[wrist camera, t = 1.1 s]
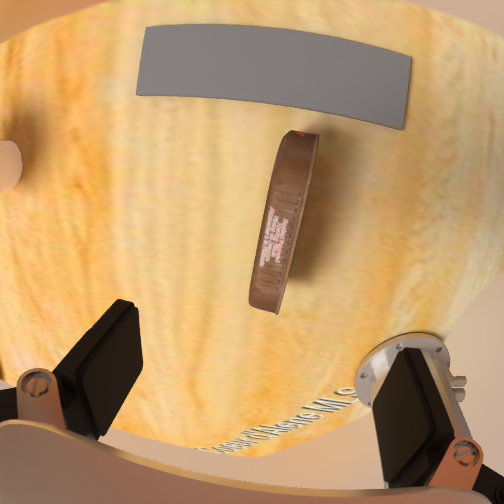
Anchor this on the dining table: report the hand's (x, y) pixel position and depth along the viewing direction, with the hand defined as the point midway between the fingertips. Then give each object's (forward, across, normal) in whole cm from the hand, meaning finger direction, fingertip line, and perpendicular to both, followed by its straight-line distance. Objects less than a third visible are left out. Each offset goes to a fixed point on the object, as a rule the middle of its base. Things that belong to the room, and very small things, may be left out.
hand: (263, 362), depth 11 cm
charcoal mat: (+20, +3, -13) cm, 24 cm away
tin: (+20, 0, 0) cm, 21 cm away
